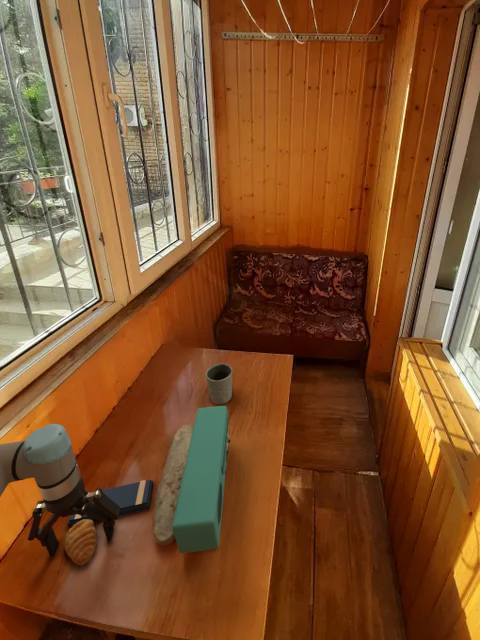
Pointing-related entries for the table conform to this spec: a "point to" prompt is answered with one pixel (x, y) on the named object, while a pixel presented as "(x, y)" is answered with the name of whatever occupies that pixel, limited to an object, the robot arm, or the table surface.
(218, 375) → the grey stone cup
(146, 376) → the table surface
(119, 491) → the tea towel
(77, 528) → the pastry
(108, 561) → the table surface
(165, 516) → the long grey stone
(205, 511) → the teal bluetooth speaker
